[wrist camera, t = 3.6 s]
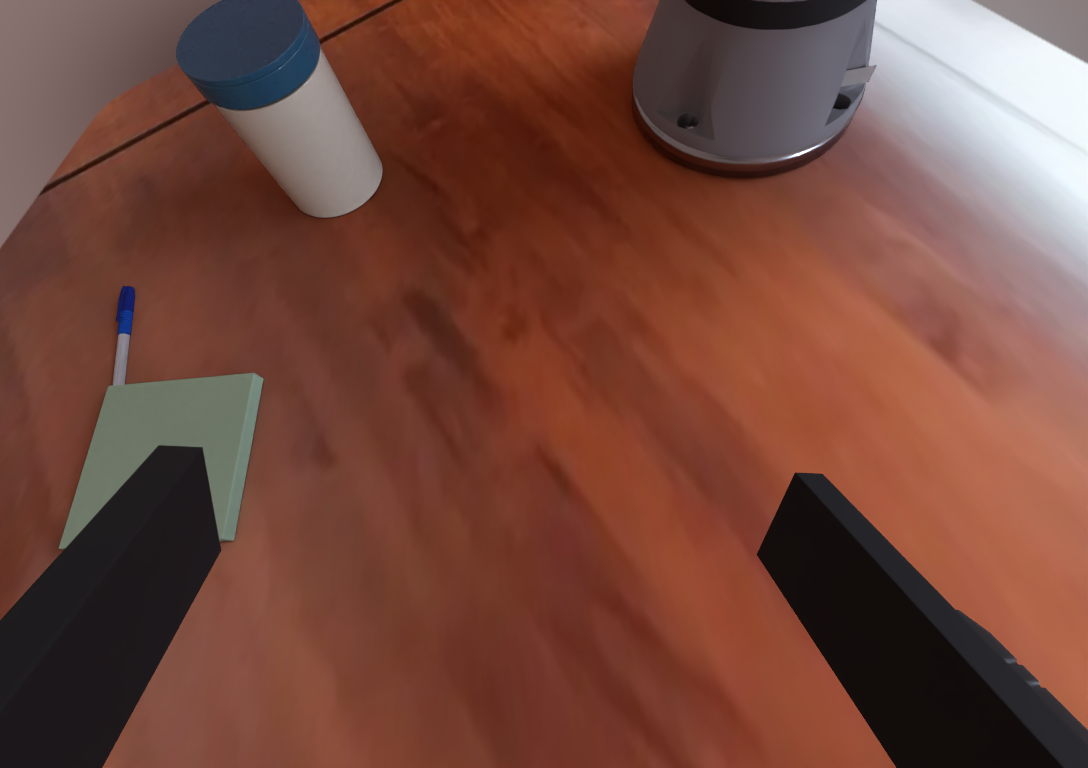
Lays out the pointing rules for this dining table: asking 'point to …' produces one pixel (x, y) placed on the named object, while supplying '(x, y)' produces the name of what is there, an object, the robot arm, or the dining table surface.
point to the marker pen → (123, 333)
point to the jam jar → (313, 145)
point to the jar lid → (248, 51)
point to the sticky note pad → (171, 440)
